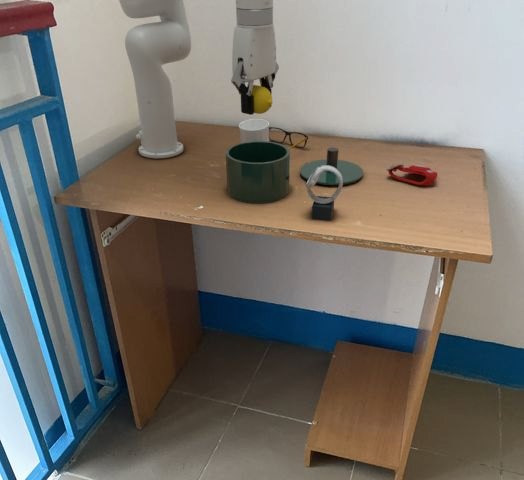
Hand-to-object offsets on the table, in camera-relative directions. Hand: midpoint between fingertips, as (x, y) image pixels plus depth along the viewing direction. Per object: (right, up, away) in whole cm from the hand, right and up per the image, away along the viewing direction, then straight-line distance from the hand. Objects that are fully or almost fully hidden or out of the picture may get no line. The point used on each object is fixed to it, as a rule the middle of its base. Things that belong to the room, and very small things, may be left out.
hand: (256, 109), depth 126 cm
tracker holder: (+39, -11, +17) cm, 44 cm away
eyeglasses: (+5, +2, +33) cm, 34 cm away
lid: (+19, -8, +19) cm, 28 cm away
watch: (+15, -24, +1) cm, 28 cm away
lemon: (0, -1, 0) cm, 1 cm away
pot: (0, -15, +12) cm, 19 cm away
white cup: (0, -3, +27) cm, 27 cm away
